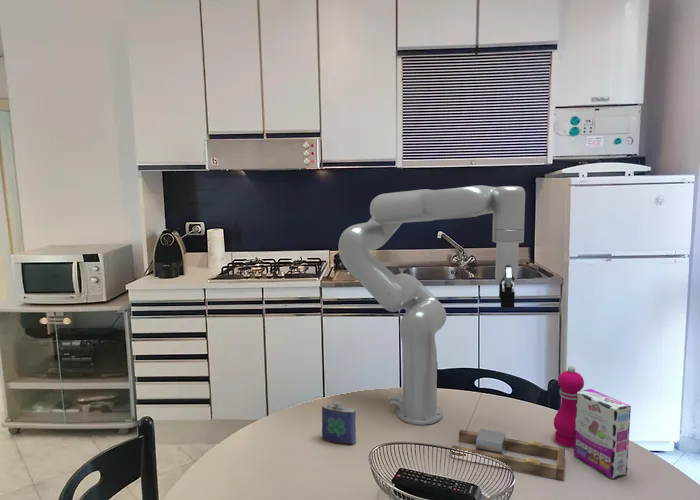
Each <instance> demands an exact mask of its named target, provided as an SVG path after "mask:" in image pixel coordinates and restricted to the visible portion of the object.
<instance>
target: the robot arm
mask: <svg viewBox="0 0 700 500" xmlns="http://www.w3.org/2000/svg"><path fill="white" fill-rule="evenodd" d="M369 205H370V206H369V213H370V216H371V217H370V218H369V220H368V221H367V222H362V223H356V224H353V225H350V226H348V227H347V228H346V229H345V230H343V232H342V233H341V235H340V237H339V241H338V246H337V247H338V255H339V259H340V260H341V262H342V265H343V266H344V267H345V269H346V270H347V271H348V272H349V273H350V274H351V276H353V277H354V278H356V280H357V281H358V282H359V283H360V284H361V285H362V286H363V287H364V289H365V290H366V291H367V292H368V293H369V294H370V295H371V296H372V297H373V298H374V299H375V300H376V301H377V302H378V304H379V305H380V306H381V307H383V309H385V310H386V311H388V312H392V313H394V312H399V311H401V310H405V313H403V315H402V317H401V319H400V323H399V334H400V338H401V349H402V350H401V351H402V355H401V356H402V395H400V396H397V395H392V394H390V395H389V398H388V400H389V401H388V402H390V406H393V407H394V406H395V407H398V408H397V410H396V414H397V417H398V418H399V419H400V420H402V421H403V422H405V423H408V424H412V425H417V426H419V425H420V426H421V425H423V426H424V425H426V426H427V425H432V424H434V423H437V422H439V421H440V420H441V419H442V418H443V417H442V416H443V411H442V409H441V408H440V407H439V406H438V405H437V401H438V400H437V393H438V391H437V390H438V388H437V386H438V385H437V384H438V382H437V381H438V365H437V364H438V362H437V361H438V356H437V355H438V353H437V343H436V339H435V338H436V333H437V332H438V331H440V330H441V329H442V328H443V326H445V324H446V321H447V311H446V309H445V307H444V305H443V303H441V302H440V301H439V299H437V297H435V296H434V295H433V293H432V292H431V291H430V290H428V288H426V286H424V284H422V283H421V282H420V280H419V279H418V278H416V277H414V276H413V275H411V274H408V273H403V272H402V273H397V274H394V273H393V272H392V271H391V270H390V269H389V268H388V267H387V266H386V265H385V264H384V263H383V262H382V261H381V260H380V259H378V258H376V257H375V256H373V255H372V254H371V253H370V252H371V251H372V252H373V251H375V250H378V249H380V248H382V247H383V246H384V245H385V244H386V243H387V242H388V241H389V240H390V238H392V236H393V235H394V234H395V232H396V231H397V230H398V229H400V227H401V225H402V224H404V223H417V222H418V223H421V222H431V221H436V220H437V221H438V220H452V219H465V218H473V217H478V216H482V215H487V214H488V215H489V214H492V240H491V241H492V243H496V245H495V246H496V248H495V269H494V270H495V272H494V274H495V275H494V276H495V277H494V278H495V282H496V283H499V287H498V298H499V299H500V307H501V308H504V309H515V297H516V294H515V293H516V292H515V283H516V282H517V279H518V272H519V271H518V267H519V245H520V244H522V243H525V241H524V240H525V212H526V211H525V210H526V191H525V189H524V187H523V186H518V185H516V186H515V185H506V186H505V185H502V186H489V185H480V184H479V185H470V186H462V187H453V188H443V189H428V188H425V189H415V190H407V191H406V190H405V191H395V192H388V193H382V194H378V195H377V196H375V197H374V198H373V199H372V200H371V202H370V204H369Z"/></svg>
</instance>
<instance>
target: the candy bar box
mask: <svg viewBox="0 0 700 500" xmlns="http://www.w3.org/2000/svg"><path fill="white" fill-rule="evenodd" d="M631 410H632V406H631V405H630V404H627V403H624V402H622V401H621V400H619V399H615V398H613V397H611V396H609V395H606V394H604V393H602V392H599V391H597V390H594V389H592V388H589V389H584V390H580V391H579V392H577V402H576V425H575V444H574V447H573V451H574V452H573V456H574V458H576V459H577V460H580V461H581V462H582V463H584V464H587V466H589V467H591V468H593V469H595V470H596V471H598V472H600V473H601V474H603V475H604V476H606V477H608V478H610V479H611V480H613V479H616V478H620V477H624V476H626V475H627V474H628V473H627V472H628V462H629V461H628V458H629V438H630V427H631V426H630V424H631Z"/></svg>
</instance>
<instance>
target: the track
mask: <svg viewBox="0 0 700 500" xmlns="http://www.w3.org/2000/svg"><path fill="white" fill-rule="evenodd" d="M478 434H479V432H476V431H470V430H465V429H459V431H458V442H461V443H466V444H471V445H475V446H476V439H477V436H478ZM451 448H455V449H459V450H463V451H468V452H472V453H478V454H482V455H485V456H488V457H491V458H494V459H497V460H499V461H501V462H503V463H505V464H506V465H508V466H509V467H510V468H511V469H512V470H511V471H513V472H518V473H524V474H528V475H533V476H539V477H544V478H549V479H553V480H556V481H557V480H558V481H564V477H565V476H564V473H565V461H566V460H565V459H566V448H563V447H558V446H553V445H547V444H544V443H543V442H540V441H534V440H529V441H525V440H520V439H514V438H510V437H506V438H505V451H507V452H512V453H518V454H523V455H528V456H534V457H538V458H544V459H548V460H554V461H556V464H553V463H552V464H551V463H546V462H541V460H540V459H535V458H530V457H526V458H521V457H516V456H510V455H506V454H504V455H501V454H496V453H491V452H486V451H481V450H476V448H469V447H464V446H459V445H452V446H451ZM451 448H450V449H451ZM450 451H451V450H450ZM451 454H452V455H457V456H463V455H464V456H466V454H461V453H455V452H453V451H451V452H450V455H451Z"/></svg>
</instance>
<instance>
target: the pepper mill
mask: <svg viewBox="0 0 700 500" xmlns="http://www.w3.org/2000/svg"><path fill="white" fill-rule="evenodd" d="M557 383H558V386H559V387H560V388H559V396H560V397H561V402H560V403H561V404H560V407H559V408H558V410H557V412H556V414H555V416H554V418H553V426H554V427H553V428H554V429H555V430H556V431H555V432H554V435H555V436H554V441H555V442H556V443H557V444H559V445H561V446H562V447H563V446H564V447H565V448H566V447H567V448H574V444H575V425H576V402H577V392H579V391H582V390H583V388H584V386H585V381H584V378H583V376H582V375H581V374H580V373H579V372H576V367H575V366H573V365H568V366H567V370H564V371H563V372H561V373H560V374H559V375H558V378H557Z"/></svg>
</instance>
